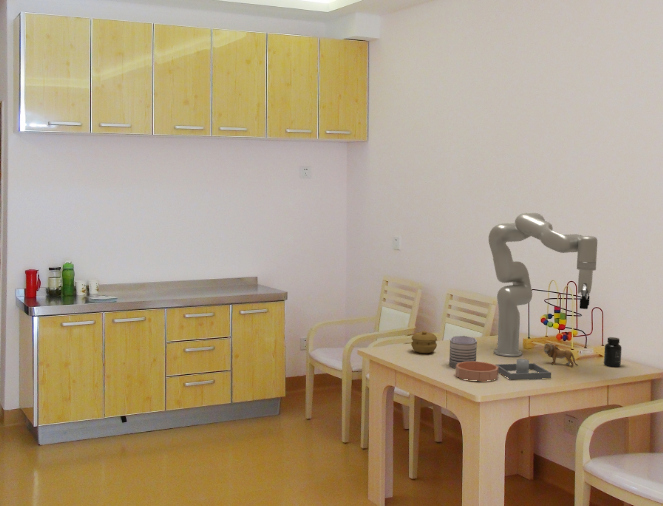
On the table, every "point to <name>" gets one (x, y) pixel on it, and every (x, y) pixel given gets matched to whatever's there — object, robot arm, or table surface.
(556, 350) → the lion figurine
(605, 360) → the supplement bottle
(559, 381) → the table surface
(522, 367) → the grey cylinder
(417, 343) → the pot
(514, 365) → the tray
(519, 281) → the robot arm
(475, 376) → the bowl
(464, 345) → the can
